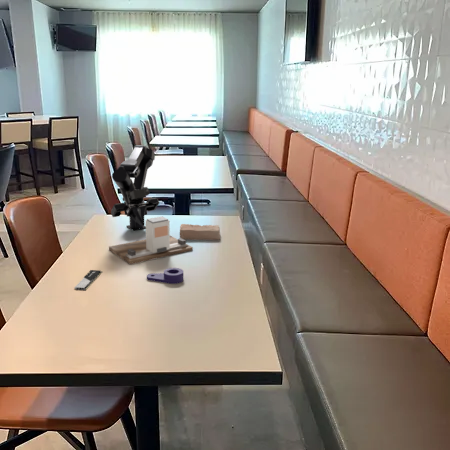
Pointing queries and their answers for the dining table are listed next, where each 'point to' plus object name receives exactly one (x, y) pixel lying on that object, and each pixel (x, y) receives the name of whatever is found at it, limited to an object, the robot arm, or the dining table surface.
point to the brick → (199, 232)
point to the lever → (167, 276)
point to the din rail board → (139, 253)
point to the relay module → (157, 234)
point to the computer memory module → (88, 280)
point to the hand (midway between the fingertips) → (143, 225)
